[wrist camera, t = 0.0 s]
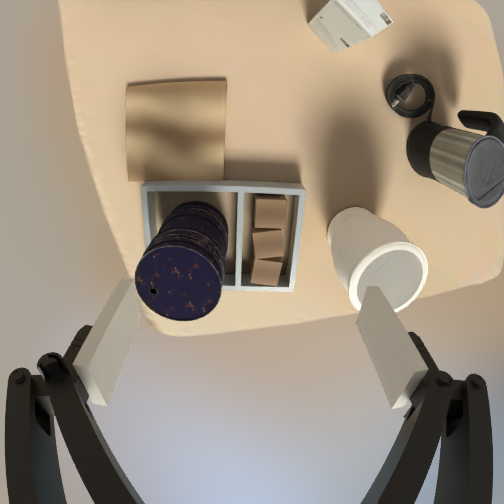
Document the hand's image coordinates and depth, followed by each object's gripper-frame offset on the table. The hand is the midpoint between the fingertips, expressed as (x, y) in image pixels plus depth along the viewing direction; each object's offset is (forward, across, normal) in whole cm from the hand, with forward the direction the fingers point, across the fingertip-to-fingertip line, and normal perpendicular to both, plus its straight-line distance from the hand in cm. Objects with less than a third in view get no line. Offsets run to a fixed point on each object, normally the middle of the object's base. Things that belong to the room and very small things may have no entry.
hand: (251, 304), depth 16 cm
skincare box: (+28, +11, +23) cm, 38 cm away
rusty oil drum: (+28, -7, -8) cm, 30 cm away
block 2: (+28, +3, -8) cm, 29 cm away
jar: (+28, +17, -7) cm, 33 cm away
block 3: (+28, +3, -12) cm, 31 cm away
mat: (+28, -10, +7) cm, 31 cm away
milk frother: (+28, +26, +11) cm, 40 cm away
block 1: (+28, +3, -3) cm, 28 cm away
